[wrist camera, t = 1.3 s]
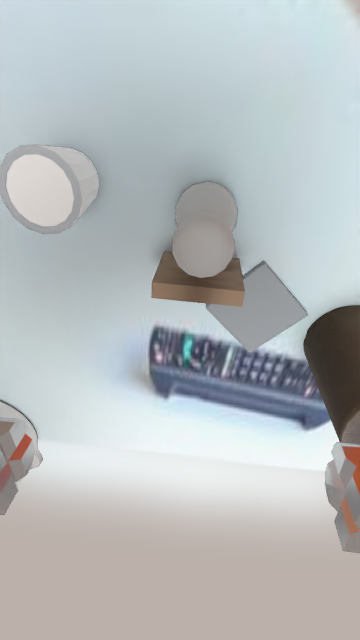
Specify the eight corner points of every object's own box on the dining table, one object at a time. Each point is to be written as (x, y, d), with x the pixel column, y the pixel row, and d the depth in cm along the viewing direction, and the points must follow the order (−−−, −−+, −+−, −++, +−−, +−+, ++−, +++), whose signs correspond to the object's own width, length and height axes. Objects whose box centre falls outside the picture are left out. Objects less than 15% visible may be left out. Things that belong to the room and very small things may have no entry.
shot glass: (34, 134, 31) (-9, 137, 25) (107, 147, 31) (81, 152, 25) (39, 209, 35) (2, 227, 29) (104, 220, 35) (81, 241, 29)
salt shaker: (232, 240, 35) (241, 295, 23) (177, 237, 35) (159, 290, 24) (239, 179, 32) (252, 209, 20) (178, 176, 32) (159, 204, 21)
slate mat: (249, 348, 41) (249, 352, 40) (206, 304, 39) (205, 308, 38) (306, 311, 38) (308, 315, 37) (263, 261, 35) (264, 263, 35)
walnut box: (239, 258, 35) (245, 291, 29) (236, 272, 36) (242, 306, 29) (164, 251, 36) (152, 282, 29) (163, 265, 37) (151, 297, 30)
